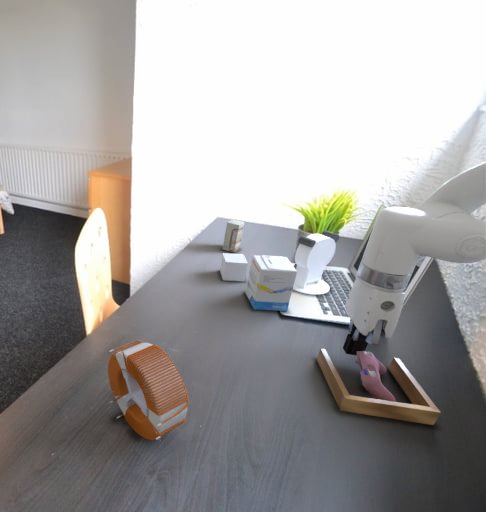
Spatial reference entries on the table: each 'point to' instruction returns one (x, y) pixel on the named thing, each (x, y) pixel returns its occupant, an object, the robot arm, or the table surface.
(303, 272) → the white curved upright piece
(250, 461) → the table surface
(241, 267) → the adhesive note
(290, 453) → the table surface
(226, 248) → the cosmetics bottle
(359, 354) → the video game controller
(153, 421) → the coil
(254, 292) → the ink box
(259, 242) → the table surface
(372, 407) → the bay
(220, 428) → the table surface
